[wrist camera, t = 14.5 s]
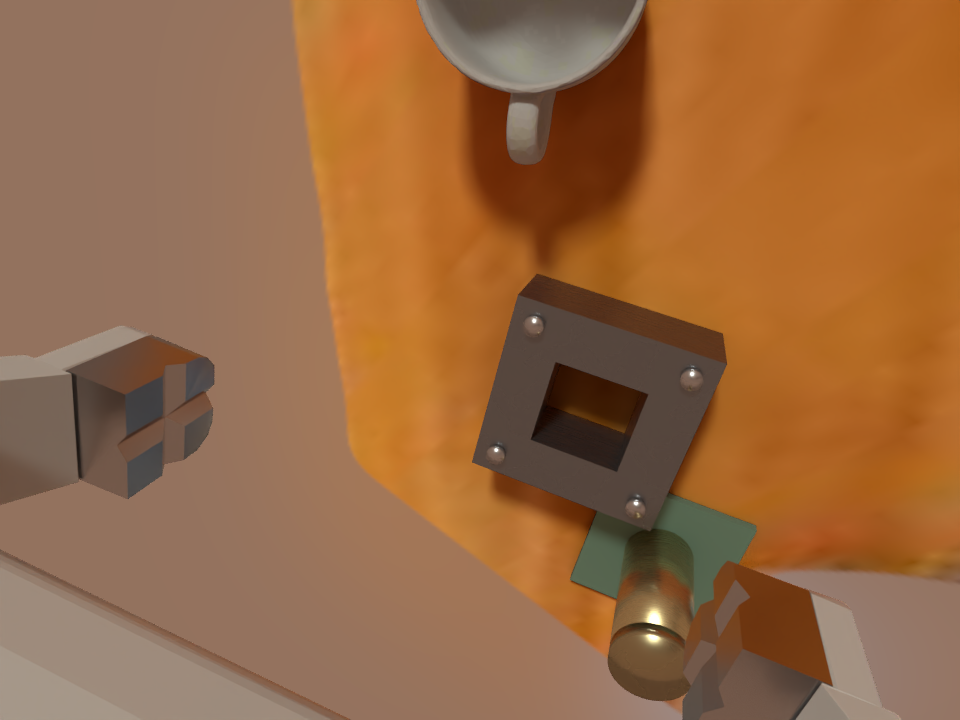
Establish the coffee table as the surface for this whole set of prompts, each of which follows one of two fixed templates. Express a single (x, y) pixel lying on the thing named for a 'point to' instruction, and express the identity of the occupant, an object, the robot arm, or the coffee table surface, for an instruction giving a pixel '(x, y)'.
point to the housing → (612, 356)
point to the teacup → (530, 52)
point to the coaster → (694, 523)
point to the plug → (653, 616)
